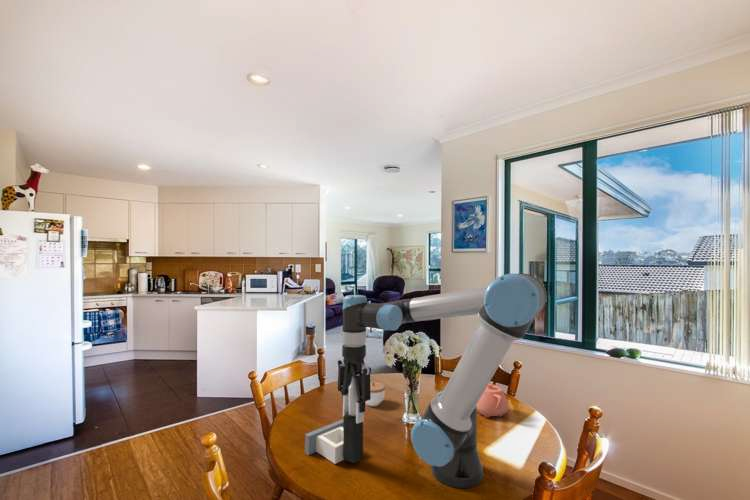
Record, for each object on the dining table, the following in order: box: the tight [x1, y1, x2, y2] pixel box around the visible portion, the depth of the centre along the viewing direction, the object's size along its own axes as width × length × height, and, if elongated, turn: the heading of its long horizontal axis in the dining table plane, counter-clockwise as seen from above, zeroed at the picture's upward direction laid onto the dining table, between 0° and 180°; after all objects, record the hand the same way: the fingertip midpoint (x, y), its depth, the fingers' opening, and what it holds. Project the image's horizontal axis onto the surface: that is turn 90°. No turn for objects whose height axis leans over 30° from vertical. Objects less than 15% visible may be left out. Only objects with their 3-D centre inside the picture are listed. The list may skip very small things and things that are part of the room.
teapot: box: [477, 382, 509, 419], centre depth 144 cm, size 13×20×12 cm, turn 11°
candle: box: [342, 376, 364, 464], centre depth 108 cm, size 5×5×25 cm
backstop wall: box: [304, 418, 343, 456], centre depth 117 cm, size 2×16×6 cm, turn 135°
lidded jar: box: [365, 381, 386, 407], centre depth 152 cm, size 11×11×9 cm
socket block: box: [316, 426, 345, 465], centre depth 113 cm, size 10×10×5 cm
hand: (353, 418), depth 108 cm, fingers closed on candle, 6 cm apart
